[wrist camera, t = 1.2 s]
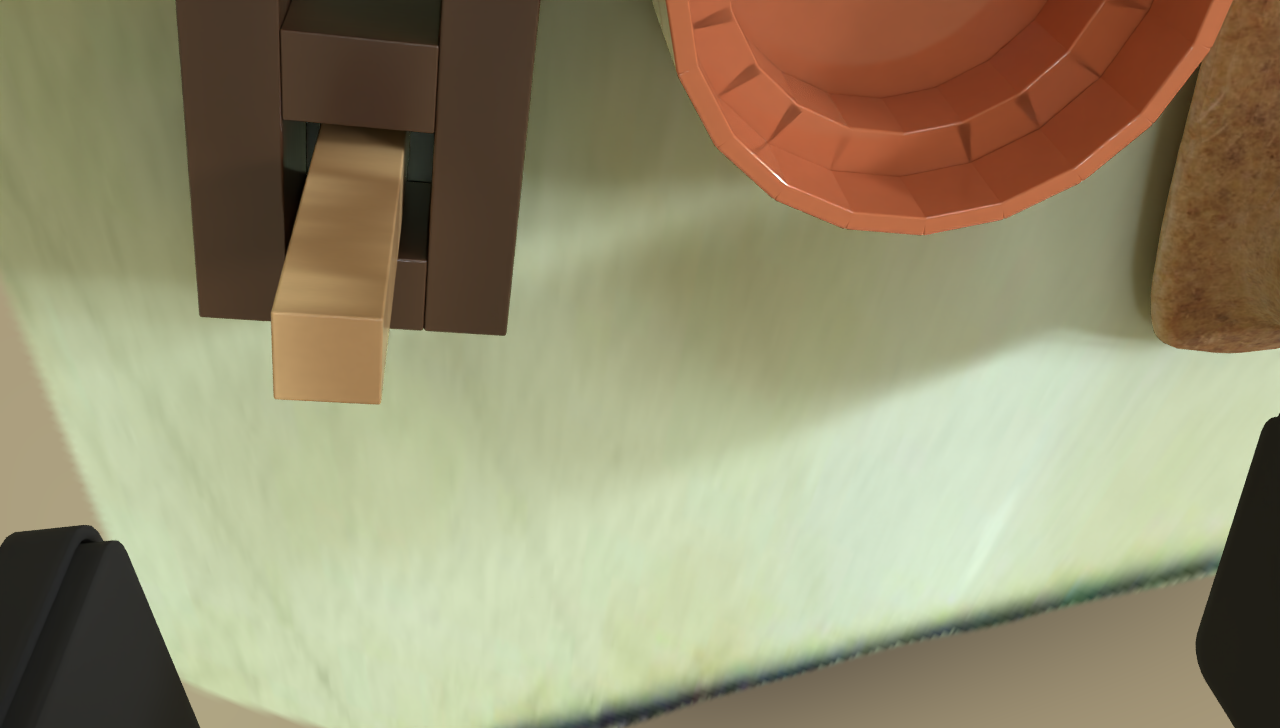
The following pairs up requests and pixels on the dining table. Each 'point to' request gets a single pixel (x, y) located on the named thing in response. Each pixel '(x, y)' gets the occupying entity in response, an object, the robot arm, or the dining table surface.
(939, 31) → the bowl
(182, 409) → the dining table surface
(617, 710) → the dining table surface
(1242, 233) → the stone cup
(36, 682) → the robot arm
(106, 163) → the dining table surface
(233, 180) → the utensil stand
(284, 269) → the light brown wooden bar
